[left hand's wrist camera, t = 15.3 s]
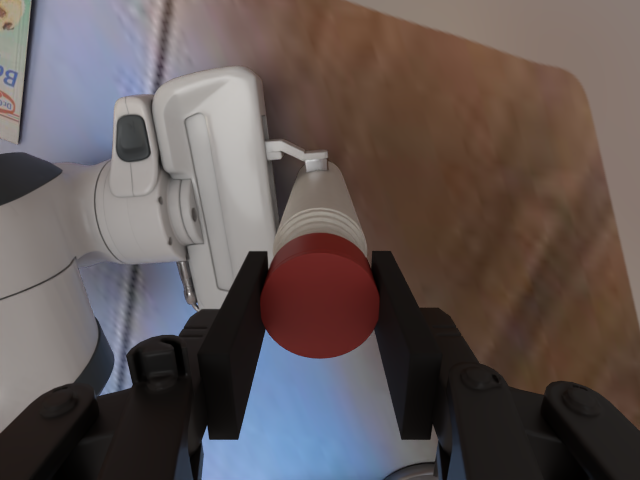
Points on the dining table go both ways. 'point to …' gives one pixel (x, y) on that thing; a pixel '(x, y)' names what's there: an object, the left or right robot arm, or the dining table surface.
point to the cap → (319, 296)
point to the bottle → (320, 209)
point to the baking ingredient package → (12, 64)
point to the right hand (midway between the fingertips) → (330, 196)
